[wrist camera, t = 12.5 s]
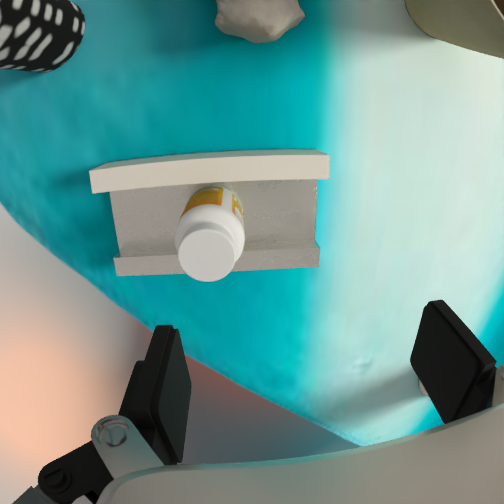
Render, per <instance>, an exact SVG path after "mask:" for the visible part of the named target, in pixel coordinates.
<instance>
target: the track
mask: <svg viewBox="0 0 504 504" xmlns="http://www.w3.org/2000/svg"><path fill="white" fill-rule="evenodd" d="M329 169H330V155H328V154H326V153H324V152H321V151H319V150H317V149H249V150H227V151H210V152H195V153H183V154H171V155H161V156H151V157H142V158H134V159H126V160H118V161H111V162H108V163H105V164H103V165H101V166H99V167H97V168H94V169H92V170H90V171H89V173H90V180H91V187H92V193H101V192H109V191H110V198H111V205H112V211H113V217H114V223H115V229H116V234H117V240H118V245H119V251H118V252H117V254H116V255H115V256H114V258H113V259H114V263H115V268H116V272H117V276H132V275H159V274H183V273H185V272H184V270H183V269H182V268H181V266H180V263H179V261H178V252H177V250H176V247H175V240H174V239H175V230H176V227H177V224H178V222H179V219H180V217H181V215H182V213H183V211H184V209H185V206H186V204H187V202H188V200H189V199H190V197H191V196H192V195H193V194H194V193H195V192H196V191H198V190H199V189H201V188H203V187H207V186H221V187H224V188H226V189H228V190H230V191H231V192H233V193H234V194H235V195H236V196H237V198H238V199H239V201H240V203H241V206H242V211H243V221H244V232H245V242H244V248H243V251H242V253H241V255H240V257H239V259H238V260H237V261H236V262H235V264H234V266H233V268H232V270H231V271H247V270H267V269H285V268H303V267H319V255H320V247H319V245H318V244H317V242H316V240H315V232H316V206H317V179H329Z"/></svg>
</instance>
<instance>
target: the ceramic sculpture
mask: <svg viewBox="0 0 504 504" xmlns="http://www.w3.org/2000/svg"><path fill="white" fill-rule="evenodd" d="M216 3H217V7H218V13H217V16H216V19H215V25H216V26H217V27H218V28H219V29H220V30H221V31H222V32H223V33H225V34H228V35H233V36H237V37H242V38H245V39H246V40H248V41H250V42H252V43H262V42H272V41H276V40H277V39H279V38H280V37H281V36H282V35H283V34H284V33H285V32H286V31H287V30H289V29H291V28H293V27H296V26H297V25H298V24H299V23H300V22H301V20H302V19H304V18H305V14H304V12H303V10H302V9H301V8H300V7H299V2H298V0H216Z"/></svg>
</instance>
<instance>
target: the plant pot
mask: <svg viewBox="0 0 504 504" xmlns="http://www.w3.org/2000/svg"><path fill="white" fill-rule="evenodd" d="M405 3H406V7H407V10H408V13H409V15H410V16H411V18H412V20H413V21H414V23H415V24H416V25H417V26H418V27H419V28H420V29H421V30H422V31H424V32H425V33H426V34H428V35H430V36H431V37H434V38H436V39H439V40H442V41H445V42H448V43H451V44H454V45H457V46H460V47H463V48H466V49H470V50H473V51H477V52H480V53H484V54H488V55H491V56H495V57H499V58H503V59H504V0H405Z"/></svg>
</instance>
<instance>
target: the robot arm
mask: <svg viewBox="0 0 504 504" xmlns="http://www.w3.org/2000/svg"><path fill="white" fill-rule="evenodd" d="M410 362H411V366H412V367H413V369H414V371H415V373H416V374H417V376H418V378H419V387H420V389H421V391H422V393H423V394H424V395H426V396H429V397H430V399H431V401H432V402H433V404H434V406H435V408H436V410H437V411H438V413H439V415H440V417H441V419H442V421H443V422H444V423H445V424H444V425H441V426H438V427H435V428H432V429H429V430H426V431H422V432H419V433H416V434H412V435H409V436H405V437H401V438H398V439H394V440H390V441H386V442H382V443H377V444H373V445H369V446H364V447H360V448H355V449H350V450H344V451H338V452H333V453H327V454H320V455H314V456H306V457H299V458H290V459H281V460H270V461H256V462H241V463H217V464H181V465H177V463H181V462H182V459H183V450H184V442H185V433H186V425H187V418H188V410H189V402H190V395H191V380H190V376H189V372H188V368H187V364H186V360H185V355H184V351H183V347H182V342H181V338H180V334H179V330H178V329H174V328H173V326H172V325H157V326H156V327H155V330H154V333H153V336H152V339H151V342H150V345H149V348H148V352H147V354H146V357H145V360H144V361H137V362H136V364H135V366H134V369H133V372H132V375H131V378H130V381H129V384H128V387H127V389H126V392H125V396H124V399H123V401H122V405H121V408H120V411H119V414H118V415H110V416H107V417H104V418H102V419H100V420H99V421H98V422H97V423H96V424H95V425H94V427H93V429H92V431H91V438H92V440H91V441H90V442H88V443H86V444H84V445H82V446H81V447H79V448H77V449H75V450H73V451H71V452H70V453H68V454H66V455H64V456H62V457H60V458H58V459H56V460H54V461H52V462H50V463H48V464H47V465H45V466H44V467H43V468H42V470H41V471H40V473H39V476H38V485H37V486H36V487H35V488H33V487H32V486H31V487H30V488H28V489H27V490H26V491H25V492H24V493H23V494H22V495H21V496H20V497H19V498H18V499H17V500H16V501H14V502H13V503H12V504H504V364H502V365H500V366H499V367H498V368H496V367H495V364H496V362H497V361H496V360H495V359H494V358H493V356H492V355H491V354H490V353H489V352H488V350H487V349H486V348H485V347H484V346H483V344H482V343H481V342H480V341H479V340H478V339H477V337H476V336H475V335H474V334H473V333H472V332H471V330H470V329H469V328H468V327H467V326H466V325H465V324H464V323H463V321H462V320H461V319H460V318H459V317H458V316H457V315H456V314H455V313H454V311H453V310H452V309H451V308H450V307H449V306H448V305H447V304H446V303H445V302H444V301H443V300H436V301H430V302H428V304H427V306H425V307H424V310H423V314H422V318H421V322H420V325H419V329H418V333H417V337H416V340H415V344H414V347H413V351H412V354H411V358H410Z"/></svg>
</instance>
